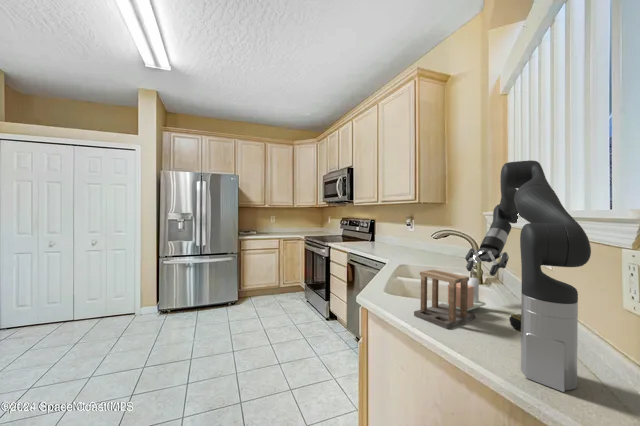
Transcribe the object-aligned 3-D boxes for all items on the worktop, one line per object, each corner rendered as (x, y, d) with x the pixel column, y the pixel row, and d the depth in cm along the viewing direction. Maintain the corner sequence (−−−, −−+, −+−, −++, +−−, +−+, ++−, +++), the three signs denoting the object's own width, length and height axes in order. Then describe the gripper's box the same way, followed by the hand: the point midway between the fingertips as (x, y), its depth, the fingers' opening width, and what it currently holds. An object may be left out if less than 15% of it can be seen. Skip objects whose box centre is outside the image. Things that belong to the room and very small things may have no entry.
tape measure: (543, 333, 78) (543, 320, 78) (527, 336, 76) (527, 323, 76) (519, 324, 85) (520, 312, 85) (504, 326, 83) (504, 314, 83)
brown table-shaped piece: (448, 329, 79) (448, 281, 79) (412, 315, 90) (413, 272, 91) (476, 318, 88) (477, 275, 88) (441, 306, 99) (441, 268, 99)
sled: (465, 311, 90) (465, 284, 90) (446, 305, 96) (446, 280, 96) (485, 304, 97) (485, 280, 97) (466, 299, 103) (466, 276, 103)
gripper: (473, 234, 112) (457, 263, 106) (511, 236, 100) (496, 269, 94) (479, 245, 115) (464, 274, 109) (517, 249, 103) (503, 282, 97)
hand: (479, 272), depth 102 cm, fingers open, 8 cm apart
